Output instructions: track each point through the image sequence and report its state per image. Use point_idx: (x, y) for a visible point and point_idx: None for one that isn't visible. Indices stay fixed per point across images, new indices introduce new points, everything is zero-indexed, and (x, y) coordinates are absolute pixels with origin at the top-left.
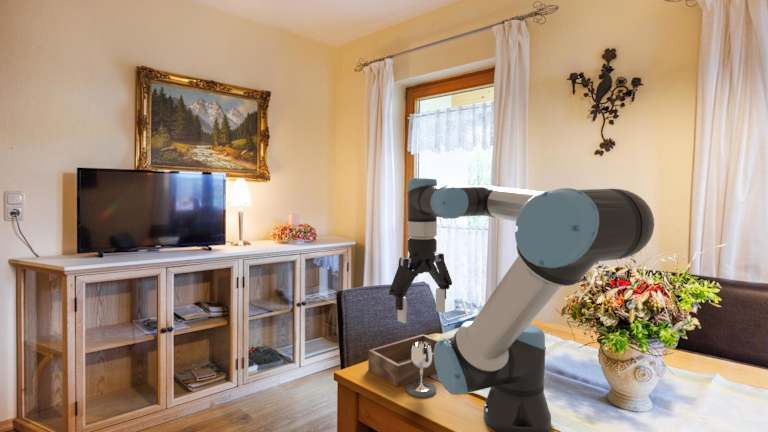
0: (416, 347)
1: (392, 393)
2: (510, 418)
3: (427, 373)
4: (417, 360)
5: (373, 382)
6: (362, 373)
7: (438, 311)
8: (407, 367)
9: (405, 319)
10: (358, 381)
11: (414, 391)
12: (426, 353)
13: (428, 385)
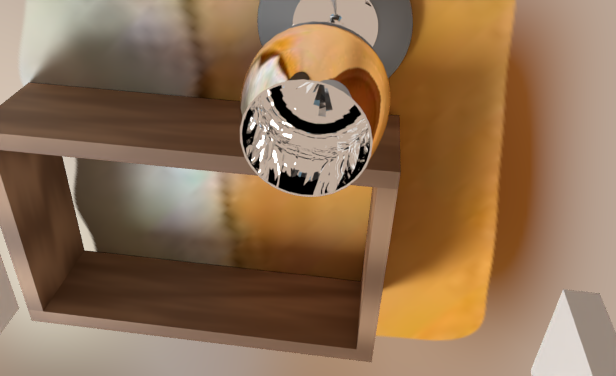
0: (373, 133)
1: (461, 93)
2: None
3: (206, 105)
4: (385, 75)
5: (442, 213)
6: (415, 287)
7: (6, 282)
8: None
9: (595, 324)
10: (481, 255)
11: (386, 25)
12: (330, 56)
13: (284, 21)
